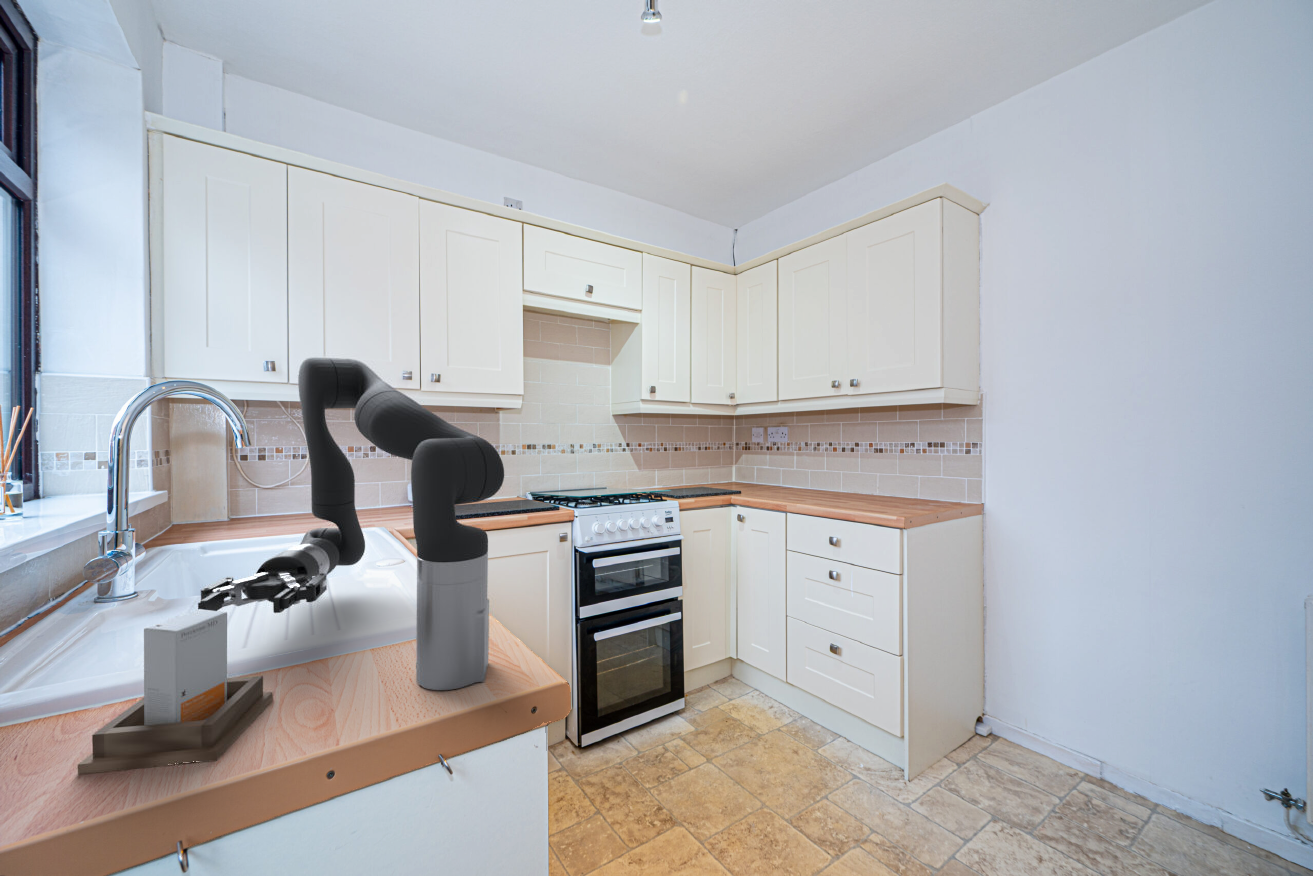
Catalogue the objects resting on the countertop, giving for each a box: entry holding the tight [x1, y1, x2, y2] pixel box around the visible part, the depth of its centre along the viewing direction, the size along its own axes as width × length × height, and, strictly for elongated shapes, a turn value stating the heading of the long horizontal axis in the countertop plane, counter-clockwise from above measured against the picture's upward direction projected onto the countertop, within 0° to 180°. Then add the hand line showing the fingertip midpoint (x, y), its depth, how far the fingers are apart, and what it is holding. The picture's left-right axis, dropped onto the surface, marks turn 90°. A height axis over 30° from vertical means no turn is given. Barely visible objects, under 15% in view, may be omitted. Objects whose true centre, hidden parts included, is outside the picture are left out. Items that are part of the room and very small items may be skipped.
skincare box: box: [143, 608, 228, 725], centre depth 60 cm, size 6×4×12 cm
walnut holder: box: [77, 675, 274, 775], centre depth 60 cm, size 12×12×4 cm
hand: (240, 607), depth 70 cm, fingers open, 8 cm apart
